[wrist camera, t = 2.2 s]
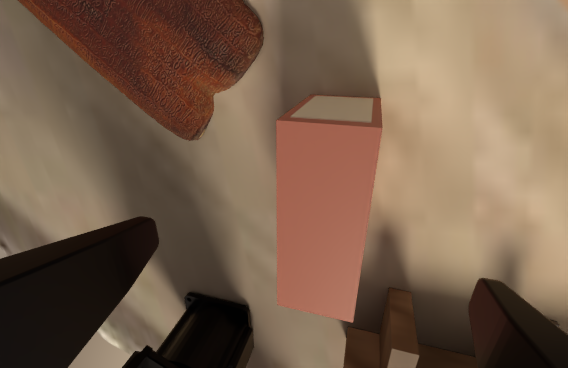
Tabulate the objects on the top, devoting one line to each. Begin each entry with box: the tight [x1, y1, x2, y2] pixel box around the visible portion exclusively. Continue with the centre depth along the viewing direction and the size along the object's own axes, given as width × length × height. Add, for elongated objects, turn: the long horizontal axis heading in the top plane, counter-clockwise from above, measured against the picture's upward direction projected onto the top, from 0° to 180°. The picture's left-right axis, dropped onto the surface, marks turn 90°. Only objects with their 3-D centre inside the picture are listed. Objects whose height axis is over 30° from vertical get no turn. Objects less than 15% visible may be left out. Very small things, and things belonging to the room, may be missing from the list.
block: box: [276, 95, 382, 323], centre depth 16 cm, size 4×10×7 cm, turn 0°
